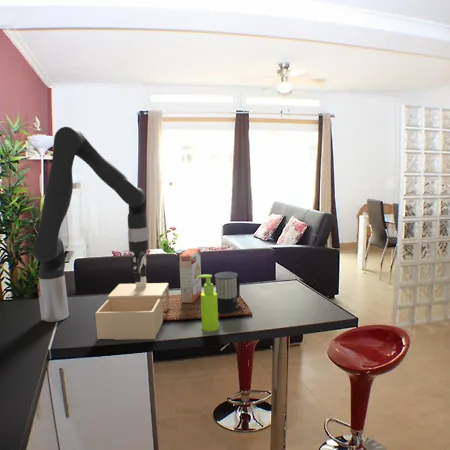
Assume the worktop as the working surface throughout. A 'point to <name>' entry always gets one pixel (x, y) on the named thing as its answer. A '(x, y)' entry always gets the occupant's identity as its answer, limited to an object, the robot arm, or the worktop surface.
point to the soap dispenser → (209, 305)
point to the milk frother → (227, 292)
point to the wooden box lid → (139, 290)
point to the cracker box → (190, 275)
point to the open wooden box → (130, 318)
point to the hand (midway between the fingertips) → (140, 278)
